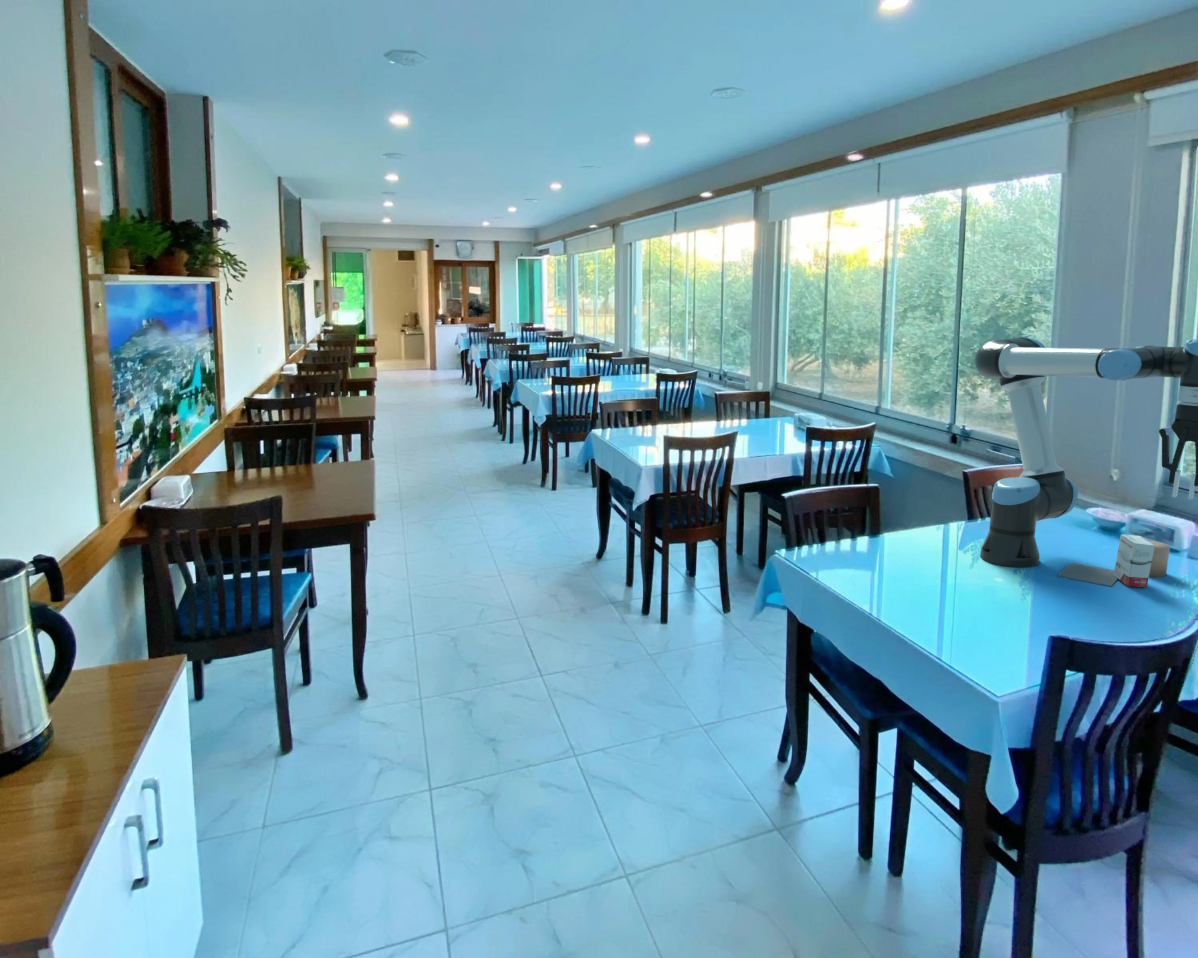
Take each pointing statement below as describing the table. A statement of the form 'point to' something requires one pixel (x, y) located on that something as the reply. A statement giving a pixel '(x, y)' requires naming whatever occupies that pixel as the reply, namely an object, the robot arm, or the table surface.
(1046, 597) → the table surface
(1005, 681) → the table surface
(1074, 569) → the slate mat
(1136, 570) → the ink box
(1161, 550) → the beige domed cylinder
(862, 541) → the table surface
